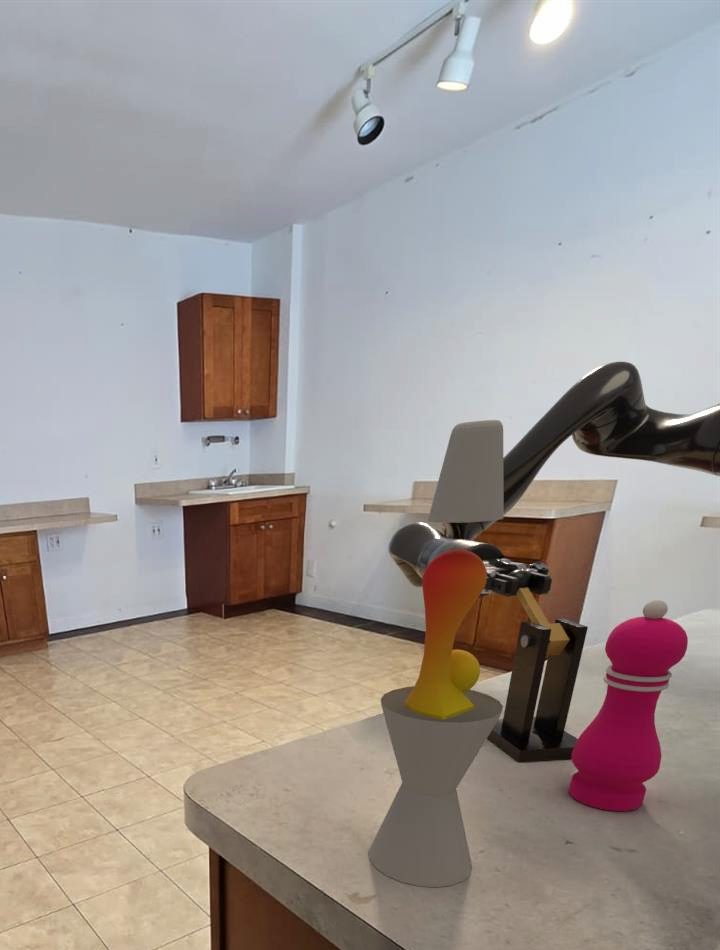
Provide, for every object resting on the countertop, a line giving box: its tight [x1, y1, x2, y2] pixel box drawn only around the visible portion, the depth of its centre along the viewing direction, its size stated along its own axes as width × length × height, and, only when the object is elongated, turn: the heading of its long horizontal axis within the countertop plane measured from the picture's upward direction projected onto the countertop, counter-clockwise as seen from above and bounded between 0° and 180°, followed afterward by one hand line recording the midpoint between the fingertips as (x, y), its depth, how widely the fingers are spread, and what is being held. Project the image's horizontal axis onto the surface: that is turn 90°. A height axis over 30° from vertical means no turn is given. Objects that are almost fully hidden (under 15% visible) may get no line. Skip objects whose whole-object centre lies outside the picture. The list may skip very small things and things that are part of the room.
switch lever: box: [508, 570, 570, 657], centre depth 76 cm, size 13×3×3 cm, turn 1°
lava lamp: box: [367, 419, 505, 888], centre depth 50 cm, size 9×9×35 cm
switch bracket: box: [486, 618, 589, 763], centre depth 75 cm, size 10×8×15 cm
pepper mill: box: [568, 599, 689, 812], centre depth 61 cm, size 7×7×20 cm
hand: (530, 586), depth 76 cm, fingers closed on switch lever, 3 cm apart
